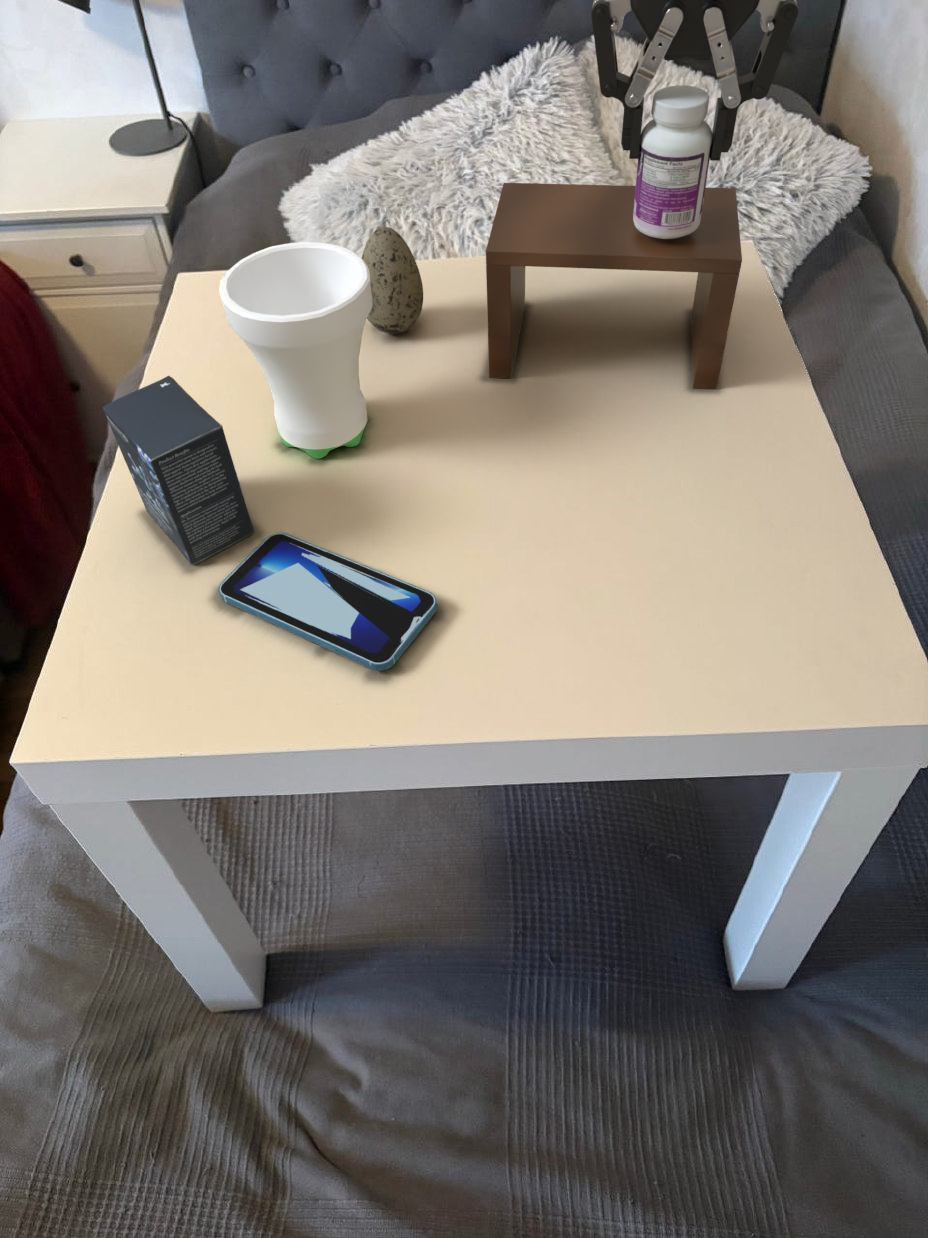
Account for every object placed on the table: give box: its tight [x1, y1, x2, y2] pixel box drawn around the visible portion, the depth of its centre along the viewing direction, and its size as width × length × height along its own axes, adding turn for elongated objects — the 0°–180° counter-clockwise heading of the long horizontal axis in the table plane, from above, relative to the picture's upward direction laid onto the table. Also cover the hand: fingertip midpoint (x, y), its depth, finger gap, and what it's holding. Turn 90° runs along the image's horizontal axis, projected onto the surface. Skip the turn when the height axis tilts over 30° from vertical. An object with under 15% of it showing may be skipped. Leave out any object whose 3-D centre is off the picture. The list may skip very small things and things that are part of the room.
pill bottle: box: [633, 85, 713, 239], centre depth 70 cm, size 5×5×10 cm
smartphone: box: [218, 532, 438, 672], centre depth 65 cm, size 7×1×15 cm
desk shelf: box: [485, 182, 743, 390], centre depth 80 cm, size 20×12×12 cm, turn 82°
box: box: [102, 375, 255, 565], centre depth 68 cm, size 8×6×11 cm
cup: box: [218, 241, 373, 459], centre depth 73 cm, size 11×11×14 cm
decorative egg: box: [361, 226, 424, 335], centre depth 84 cm, size 6×6×10 cm
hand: (674, 154), depth 69 cm, fingers closed on pill bottle, 5 cm apart
